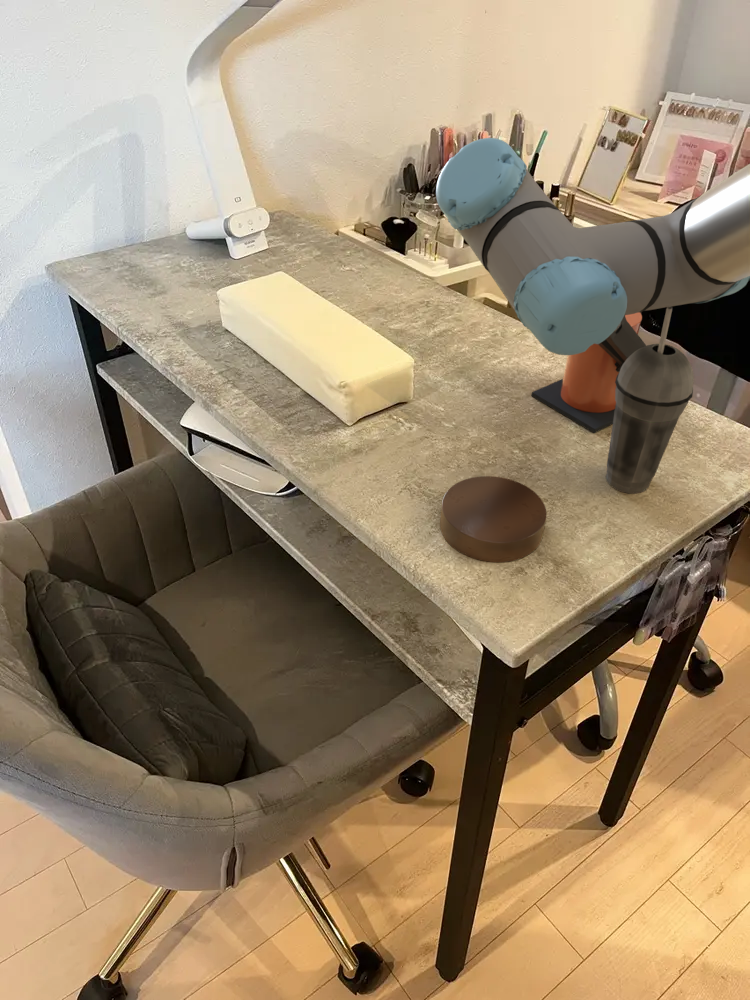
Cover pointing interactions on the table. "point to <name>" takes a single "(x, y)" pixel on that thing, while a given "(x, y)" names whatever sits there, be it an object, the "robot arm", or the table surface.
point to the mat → (586, 419)
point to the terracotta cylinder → (593, 377)
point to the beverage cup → (647, 411)
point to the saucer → (492, 518)
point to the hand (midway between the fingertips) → (614, 365)
